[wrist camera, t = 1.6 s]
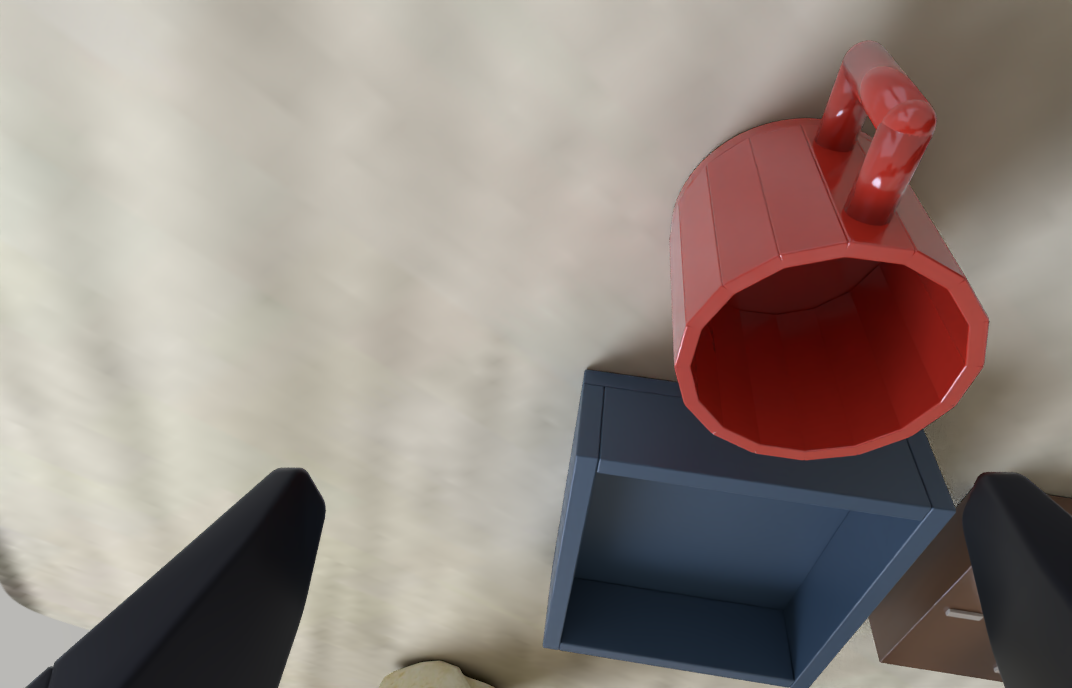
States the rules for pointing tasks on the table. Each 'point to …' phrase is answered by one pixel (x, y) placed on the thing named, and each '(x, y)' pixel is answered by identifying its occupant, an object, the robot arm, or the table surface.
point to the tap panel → (939, 610)
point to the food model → (430, 677)
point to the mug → (821, 279)
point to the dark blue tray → (726, 540)
